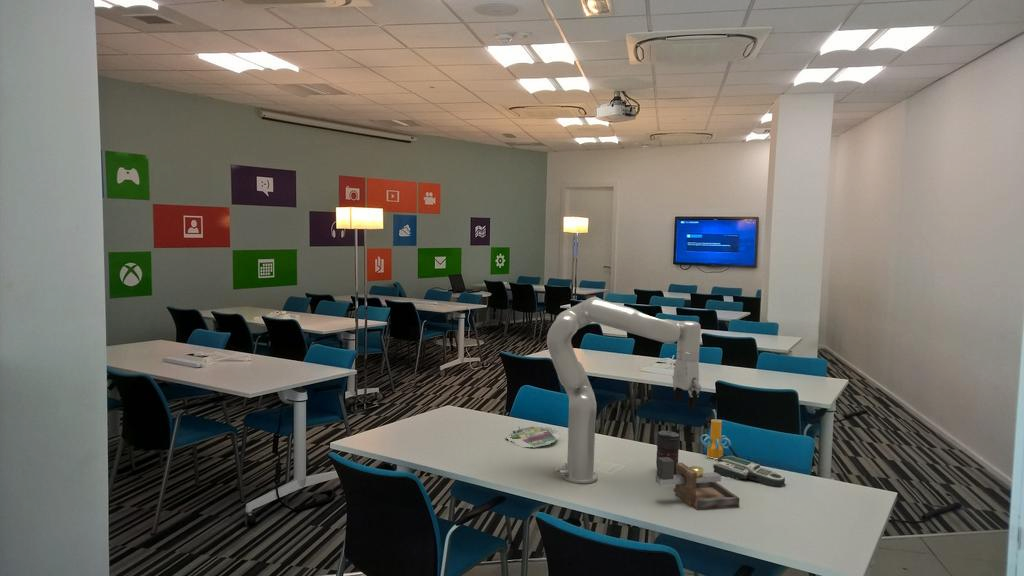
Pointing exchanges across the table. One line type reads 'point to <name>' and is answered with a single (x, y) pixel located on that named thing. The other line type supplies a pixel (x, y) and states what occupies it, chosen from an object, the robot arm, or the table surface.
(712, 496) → the guide frame
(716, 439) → the orange vase with handles
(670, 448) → the camera lens
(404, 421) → the table surface
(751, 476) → the communication device
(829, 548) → the table surface
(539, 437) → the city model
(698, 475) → the gold dome
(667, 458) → the grey sliding bolt
